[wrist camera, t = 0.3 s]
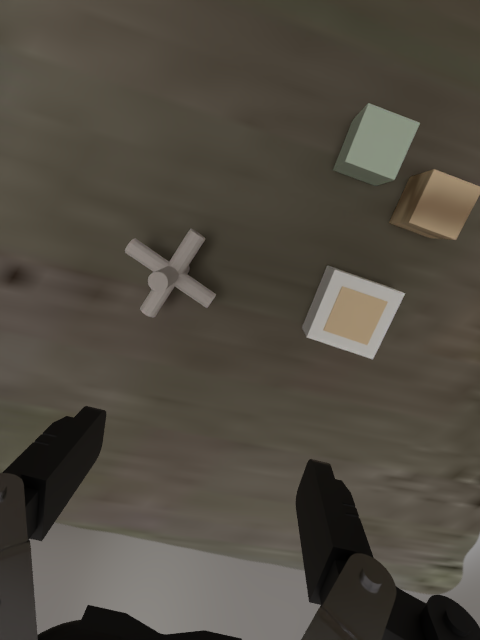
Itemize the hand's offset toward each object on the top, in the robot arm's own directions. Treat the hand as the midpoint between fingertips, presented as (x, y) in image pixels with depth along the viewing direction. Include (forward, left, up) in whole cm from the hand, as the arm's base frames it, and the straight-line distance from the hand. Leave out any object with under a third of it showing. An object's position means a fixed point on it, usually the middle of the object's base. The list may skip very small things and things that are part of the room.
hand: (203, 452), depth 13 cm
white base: (-3, +13, -28) cm, 31 cm away
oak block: (-16, +16, -28) cm, 36 cm away
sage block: (-19, +8, -28) cm, 35 cm away
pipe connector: (-1, -7, -28) cm, 29 cm away
